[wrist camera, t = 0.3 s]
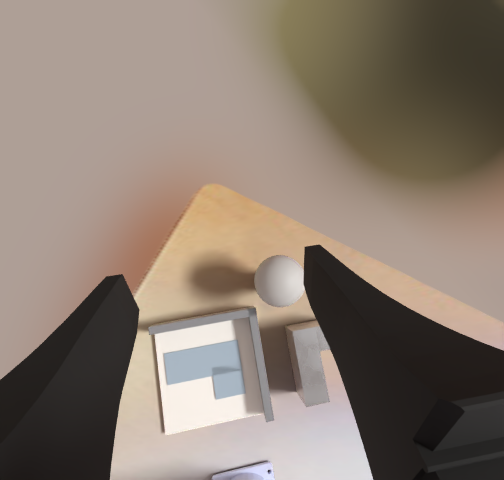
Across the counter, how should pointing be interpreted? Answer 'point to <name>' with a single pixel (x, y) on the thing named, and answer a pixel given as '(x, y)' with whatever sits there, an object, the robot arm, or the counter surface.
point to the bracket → (308, 361)
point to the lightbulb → (279, 281)
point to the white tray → (211, 370)
